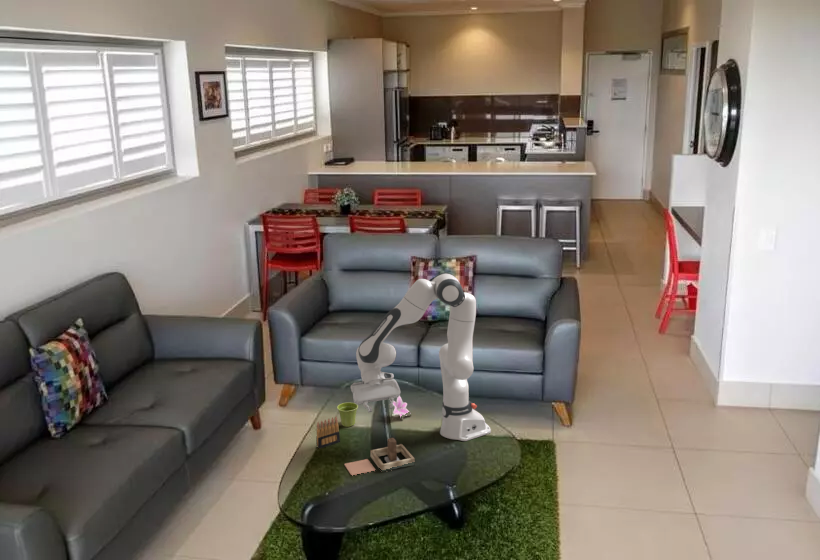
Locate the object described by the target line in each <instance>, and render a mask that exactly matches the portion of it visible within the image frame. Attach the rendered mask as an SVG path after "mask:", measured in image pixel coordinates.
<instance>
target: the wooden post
mask: <svg viewBox="0 0 820 560" xmlns="http://www.w3.org/2000/svg"><path fill="white" fill-rule="evenodd" d="M396 445H397V440H396V439H395V438H394V437H390V438H387V447H388V455H387V456H385V457H384V461H385V462H386V463H390V462H395V461H399V460H401V459H400V458H399V456H397V455H398V453H397V450H396Z"/></svg>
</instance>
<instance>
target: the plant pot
mask: <svg viewBox="0 0 820 560" xmlns="http://www.w3.org/2000/svg"><path fill="white" fill-rule="evenodd" d="M336 408H337V409H336V410H337V411H338V412H339V413H338V414H339V417H340V423H341V425H342V426H343V427H346V428H350V427H352V426H355V425H354V424H356V419H357V418H356V417H357V412H358V408H359V404H355V403H354V402H343V403H340V404H338V405H337V406H336Z"/></svg>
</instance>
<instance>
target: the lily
mask: <svg viewBox="0 0 820 560" xmlns="http://www.w3.org/2000/svg"><path fill="white" fill-rule="evenodd" d="M393 406H394V409H393V411H392V415H399V416H400V418H401V416H402V415H404V416H406V415H405V414H406V413H408V412H410V411H409V410H408V409H407V406H408V403H407V402H404V401H403V399H402V397H401V394H400V395H399V397H398V398H396V401H395V400H394V401H393Z"/></svg>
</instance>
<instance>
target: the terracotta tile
mask: <svg viewBox="0 0 820 560" xmlns="http://www.w3.org/2000/svg"><path fill="white" fill-rule="evenodd" d="M344 467H345V468H346V469H347V471H348V473H349V474H350V475H352V476H351V477H354V476H353V475H355V476H358V475H357V474H360V475H362V474H361V473H364V474H368V473H367V472H369V473H372V472H371V471H374V472H376V471H375V470H376V468H375V467H374V466H373V464H372V463H371V461H370V460H369V459H368V458H365V459H360V460H356V461H355V460H354V461H352V462H351V461H350V462H346V463H344Z"/></svg>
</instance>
